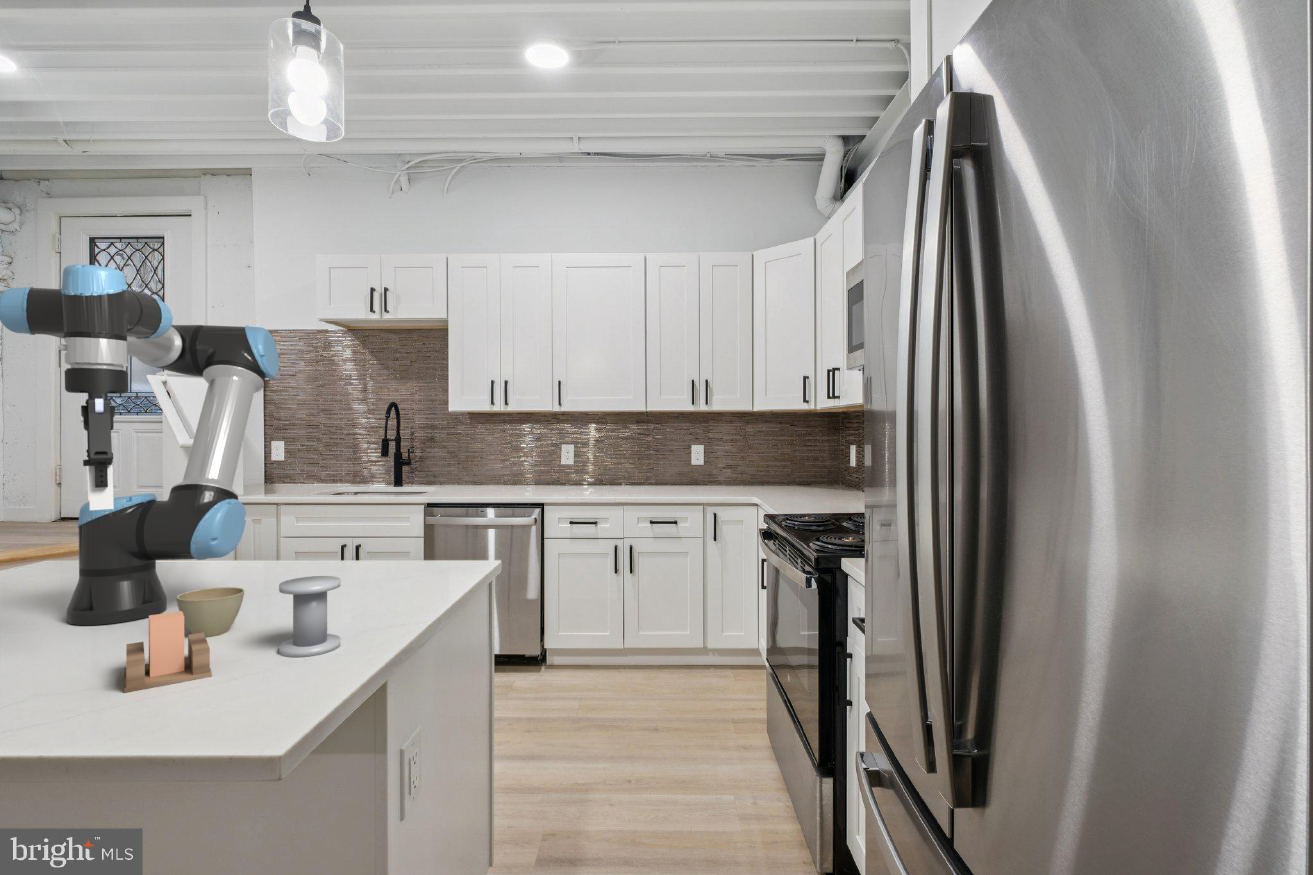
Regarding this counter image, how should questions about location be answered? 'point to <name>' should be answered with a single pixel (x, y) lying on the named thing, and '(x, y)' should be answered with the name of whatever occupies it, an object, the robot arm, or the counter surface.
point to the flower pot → (210, 609)
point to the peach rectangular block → (166, 643)
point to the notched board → (140, 677)
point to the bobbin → (309, 616)
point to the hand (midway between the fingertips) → (100, 504)
